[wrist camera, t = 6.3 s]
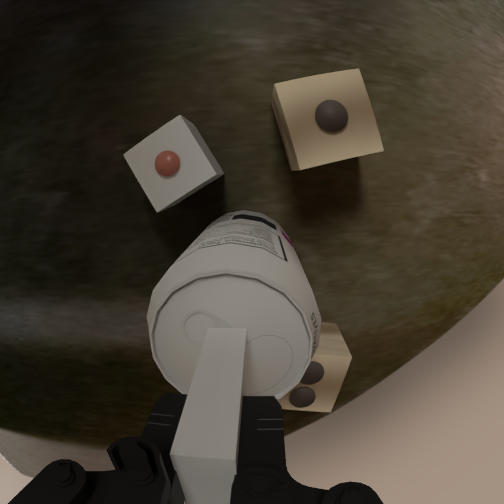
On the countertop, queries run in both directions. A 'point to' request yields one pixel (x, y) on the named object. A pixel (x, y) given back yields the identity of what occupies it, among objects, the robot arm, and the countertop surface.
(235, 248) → the supplement can
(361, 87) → the maple block
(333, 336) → the maple block
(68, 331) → the countertop surface
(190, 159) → the grey plastic block
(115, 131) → the countertop surface
